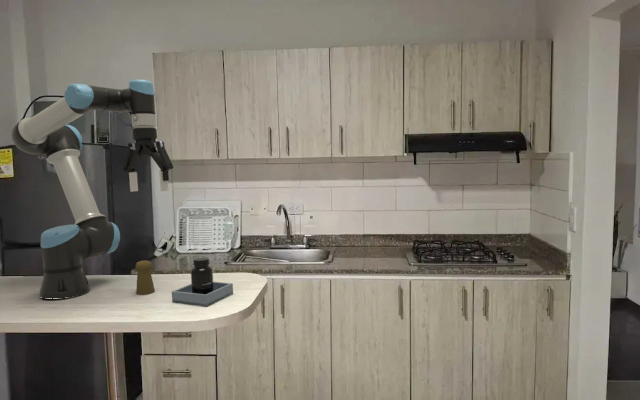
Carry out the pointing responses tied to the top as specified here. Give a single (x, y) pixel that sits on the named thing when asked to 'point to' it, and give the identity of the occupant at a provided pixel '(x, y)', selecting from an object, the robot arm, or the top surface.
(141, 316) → the top surface
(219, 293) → the tray
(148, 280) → the cork
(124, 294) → the top surface
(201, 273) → the supplement bottle
